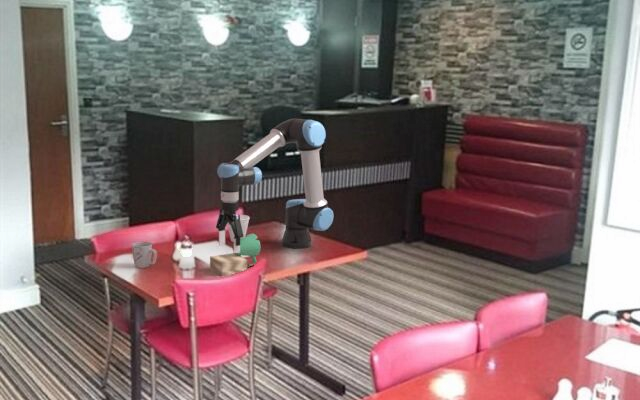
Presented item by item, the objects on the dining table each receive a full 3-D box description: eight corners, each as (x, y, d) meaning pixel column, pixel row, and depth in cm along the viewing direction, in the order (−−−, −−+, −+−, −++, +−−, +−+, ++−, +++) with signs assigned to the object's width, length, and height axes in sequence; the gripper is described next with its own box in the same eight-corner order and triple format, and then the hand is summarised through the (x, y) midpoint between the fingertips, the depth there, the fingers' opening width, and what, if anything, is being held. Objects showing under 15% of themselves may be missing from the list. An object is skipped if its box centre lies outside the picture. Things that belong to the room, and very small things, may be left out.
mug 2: (240, 238, 297) (259, 234, 303) (228, 237, 304) (246, 232, 310) (244, 271, 298) (263, 266, 305) (232, 269, 306) (250, 264, 312)
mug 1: (161, 265, 303) (161, 243, 301) (151, 270, 295) (151, 248, 293) (139, 262, 306) (139, 240, 304) (128, 267, 298) (128, 245, 296)
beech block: (234, 266, 307) (234, 253, 306) (247, 273, 297) (247, 259, 296) (210, 269, 301) (210, 256, 299) (222, 277, 291) (222, 263, 290)
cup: (248, 244, 343) (248, 220, 341) (224, 243, 344) (224, 219, 341) (250, 238, 355) (251, 215, 353) (227, 237, 355) (228, 214, 353)
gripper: (208, 196, 301) (208, 243, 305) (236, 207, 281) (235, 257, 285) (223, 195, 305) (223, 241, 309) (252, 205, 285) (251, 254, 289)
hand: (229, 249), depth 297 cm, fingers open, 13 cm apart
